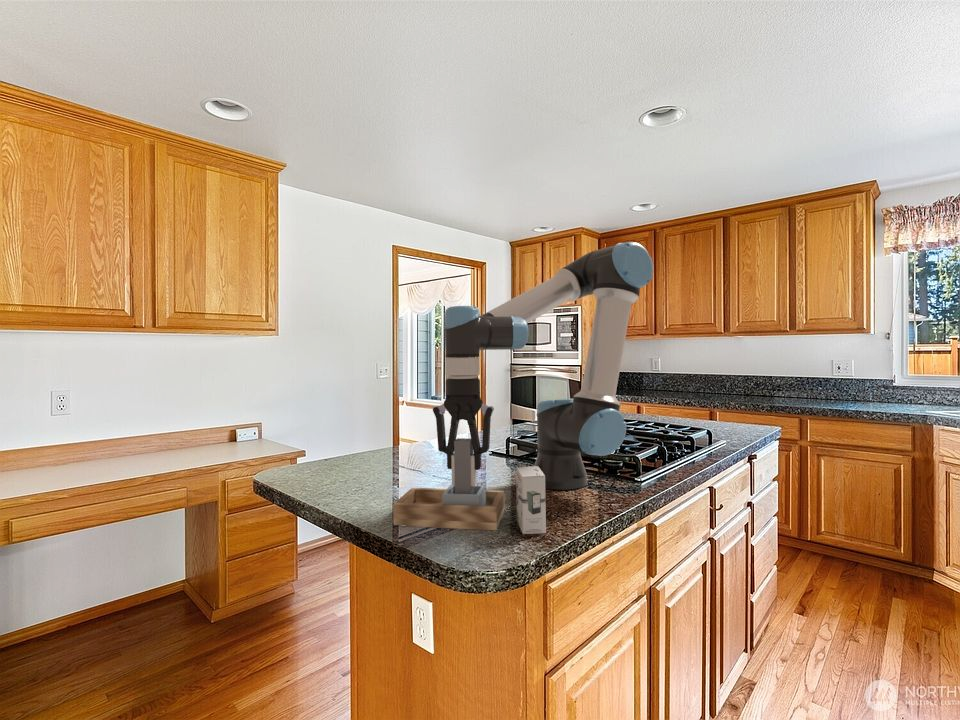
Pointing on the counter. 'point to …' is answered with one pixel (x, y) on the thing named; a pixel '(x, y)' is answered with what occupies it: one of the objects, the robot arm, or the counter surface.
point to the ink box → (531, 500)
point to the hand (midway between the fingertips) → (464, 483)
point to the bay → (447, 511)
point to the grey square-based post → (463, 479)
